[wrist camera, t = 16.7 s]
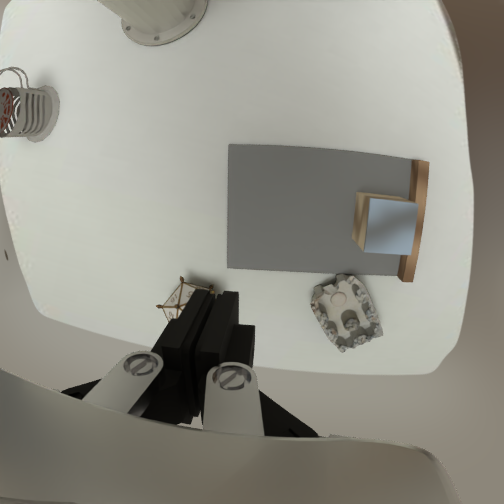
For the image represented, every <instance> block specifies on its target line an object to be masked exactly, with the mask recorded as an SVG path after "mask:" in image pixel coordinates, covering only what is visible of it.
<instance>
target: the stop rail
mask: <svg viewBox="0 0 504 504" xmlns="http://www.w3.org/2000/svg"><path fill="white" fill-rule="evenodd" d="M428 175H429V162H427V161H421V160H412V162H411V177H410V189H409V199H408V200H410V201H412V202H415V203H418V204H419V206H418V214H417V221H416V228H415V234H414V240H413V246H412V252H411V255H401V257H400V263H399V268H398V273H397V276H398V278H399V279H400V280H401V281H402V282H413V278H414V274H415V269H416V264H417V259H418V253H419V248H420V242H421V235H422V229H423V222H424V214H425V206H426V197H427V187H428Z"/></svg>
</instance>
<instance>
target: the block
mask: <svg viewBox="0 0 504 504" xmlns="http://www.w3.org/2000/svg"><path fill="white" fill-rule="evenodd" d="M418 206H419V204H418V203H415V202H412V201H410V200H407V199H404V198H401V197H398V196H390V195H381V194H373V193H363V192H356V203H355V213H354V223H353V232H352V239H353V240H354V241H355V242H356V244H357V245H358V246H359V247H360V248H361V249H362V250H363V252H368V253H383V254H399V255H411V252H412V246H413V240H414V234H415V228H416V221H417V214H418Z"/></svg>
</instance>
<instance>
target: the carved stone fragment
mask: <svg viewBox="0 0 504 504" xmlns="http://www.w3.org/2000/svg"><path fill="white" fill-rule="evenodd" d="M314 290H315V294H314V296H313V297H312V302H311V303H310V305H312V306H311V308H312V310H313V312H314V314H315V316H316V318H317V319H318V321H319V323H320V325H321V327H322V329H323V330H324V332H325V334H326V336H327V337H328V339H329V340H330V341H331V342H332V343H333V344H334V345H335V346H337V348H338V349H339V351H340V352H345V350H346V349H348V348H355V347H356V346H358V345H362V344H364V343H366V342H370V340H371V339H372V338H377V337H379V336H382V335H383V331H382V327H381V324H380V321H379V319H378V316H377V313H376V311H375V308H374V306H373V303H372V301H371V298H370V296H369V293H368V291H367V289H366V288H365V286H364V285H363V284H362V283H361V282H360V281H359V280H357V279H356V278H355V276H354V275H352V276H346V275H344V274H342V273H341V274H339V275H336V283H335V284H334V285H333V284H330V285H328V286H325V287H323V286H321V285H319V286H316V287H315V288H314Z"/></svg>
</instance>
